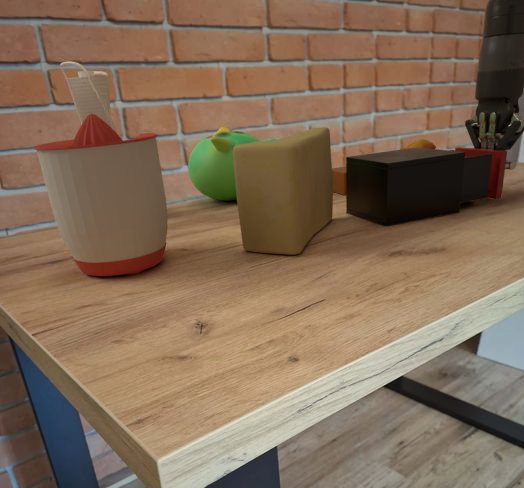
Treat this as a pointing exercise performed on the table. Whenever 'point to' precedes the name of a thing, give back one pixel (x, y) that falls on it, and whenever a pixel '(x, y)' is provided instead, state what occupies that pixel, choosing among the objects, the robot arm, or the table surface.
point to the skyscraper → (90, 94)
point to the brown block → (339, 180)
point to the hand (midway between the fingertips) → (489, 175)
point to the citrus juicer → (107, 198)
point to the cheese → (284, 191)
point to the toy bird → (217, 163)
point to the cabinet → (404, 185)
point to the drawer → (483, 173)
